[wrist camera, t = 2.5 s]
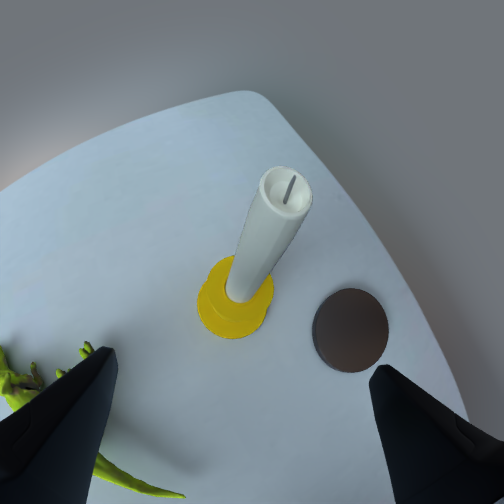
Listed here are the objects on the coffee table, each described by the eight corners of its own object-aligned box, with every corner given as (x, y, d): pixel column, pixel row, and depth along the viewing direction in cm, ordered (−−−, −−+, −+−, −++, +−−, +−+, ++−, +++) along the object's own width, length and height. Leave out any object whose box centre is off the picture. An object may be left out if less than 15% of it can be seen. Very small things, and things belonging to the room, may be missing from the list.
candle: (279, 306, 21) (413, 197, 7) (231, 353, 19) (304, 341, 5) (233, 258, 22) (282, 88, 8) (182, 302, 20) (135, 164, 6)
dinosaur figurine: (207, 377, 18) (207, 387, 12) (185, 491, 14) (179, 532, 8) (4, 299, 17) (-38, 280, 11) (-11, 397, 13) (-53, 398, 7)
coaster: (394, 346, 21) (399, 345, 20) (333, 387, 19) (337, 388, 18) (363, 278, 23) (367, 275, 22) (297, 311, 21) (301, 309, 20)
